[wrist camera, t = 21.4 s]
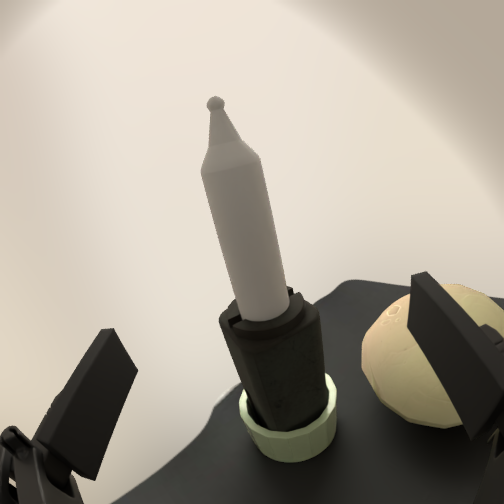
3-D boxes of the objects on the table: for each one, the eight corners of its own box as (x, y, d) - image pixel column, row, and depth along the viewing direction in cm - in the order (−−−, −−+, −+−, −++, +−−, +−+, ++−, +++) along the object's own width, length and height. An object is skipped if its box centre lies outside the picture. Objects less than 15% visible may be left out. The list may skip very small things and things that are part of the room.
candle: (254, 421, 23) (154, 118, 13) (300, 394, 24) (238, 100, 15) (284, 458, 18) (173, 92, 9) (333, 426, 20) (287, 77, 11)
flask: (434, 314, 29) (536, 392, 13) (331, 378, 26) (436, 508, 10) (445, 248, 25) (576, 322, 9) (328, 308, 22) (493, 471, 6)
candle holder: (322, 387, 25) (319, 353, 23) (348, 446, 18) (350, 418, 16) (248, 407, 25) (235, 375, 23) (259, 471, 18) (244, 447, 16)
